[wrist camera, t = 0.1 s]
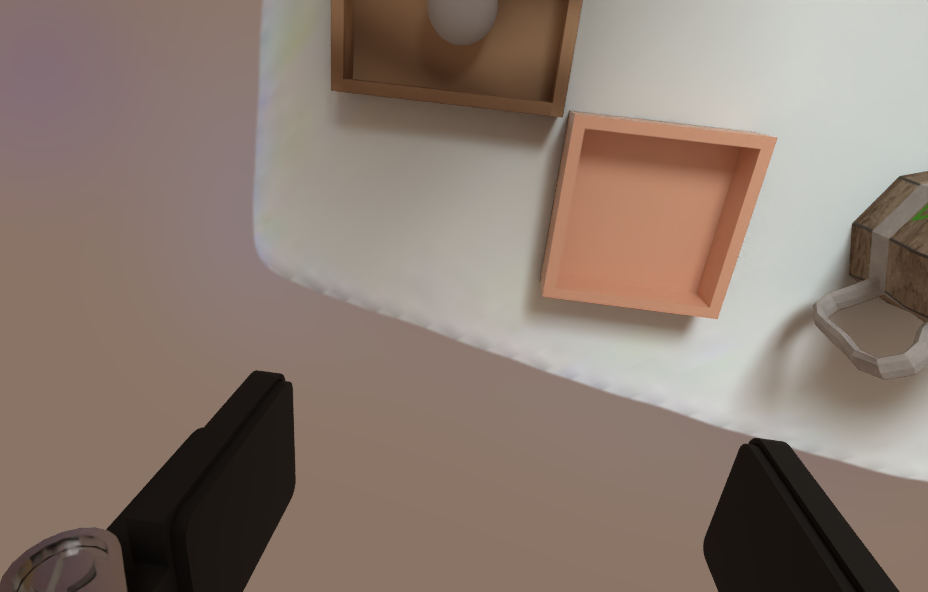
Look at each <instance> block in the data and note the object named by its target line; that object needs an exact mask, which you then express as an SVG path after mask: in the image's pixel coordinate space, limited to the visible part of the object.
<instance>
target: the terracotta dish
mask: <svg viewBox="0 0 928 592" xmlns="http://www.w3.org/2000/svg"><path fill="white" fill-rule="evenodd" d="M776 141H777V138H776V137H772V136H768V135H764V134H760V133H755V132H748V131H739V130H731V129H722V128H713V127H705V126H696V125H687V124H679V123H670V122H661V121H653V120H644V119H635V118H627V117H618V116H609V115H601V114H592V113H583V112H575V111H569V117H568V122H567V128H566V134H565V140H564V145H563V151H562V157H561V162H560V168H559V174H558V180H557V185H556V191H555V197H554V203H553V208H552V214H551V220H550V226H549V231H548V237H547V243H546V248H545V254H544V260H543V266H542V271H541V277H540V283H541V290H542V297H549V298H557V299H565V300H573V301H580V302H588V303H596V304H604V305H612V306H619V307H627V308H635V309H643V310H651V311H658V312H666V313H674V314H682V315H690V316H697V317H705V318H713V319H718V316H719V313H720V310H721V307H722V304H723V301H724V298H725V295H726V292H727V289H728V286H729V283H730V280H731V277H732V274H733V271H734V268H735V265H736V261H737V258H738V255H739V252H740V249H741V246H742V243H743V240H744V237H745V234H746V231H747V228H748V225H749V222H750V219H751V216H752V213H753V210H754V207H755V204H756V201H757V198H758V195H759V192H760V189H761V186H762V183H763V180H764V177H765V174H766V171H767V168H768V165H769V162H770V159H771V156H772V153H773V150H774V147H775V144H776Z"/></svg>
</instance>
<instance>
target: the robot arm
mask: <svg viewBox="0 0 928 592" xmlns="http://www.w3.org/2000/svg"><path fill="white" fill-rule="evenodd" d="M294 488H295V447H294V416H293V387H292V383H291V382H287V381H285V378H284V375H282V374H280V373H272V372H265V371H254V372H252V373H251V374H250V375H249V376H248V378H247V379H246V380H245V381H244V382H243V384H242V385H241V386H240V387H239V388H238V389H237V390H236V391H235V392H234V394H233V395H232V396H231V397H230V398H229V399H228V400H227V402H226V403H225V404H224V405H223V406H222V408H221V409H220V410H219V411H218V412H217V413H216V414H215V415H214V417H213V418H212V419H211V420H210V421H209V422H208V423H207V425H206V426H205V427H204V428H200V429H197V430H196V431H195V432H193V433H192V434H191V435H190V436H189V438H188V439H187V440H186V441H185V442H184V443H183V444H182V445H181V446H180V448H179V449H178V450H177V451H176V452H175V453H174V454H173V456H172V457H171V458H170V459H169V460H168V461H167V462H166V463H165V465H164V466H163V467H162V468H161V469H160V470H159V471H158V472H157V473H156V474H155V476H154V477H153V478H152V479H151V480H150V481H149V482H148V483H147V484H146V486H145V487H144V488H143V489H142V490H141V491H140V492H139V494H138V495H137V496H136V497H135V498H134V499H133V500H132V501H131V503H130V504H129V505H128V506H127V507H126V508H125V509H124V510H123V512H121V514H120V515H119V516H118V517H117V518H116V519H115V520H114V521H113V523H112V524H111V525H110V526H109V527H108V528H107V529H106V530H104V529H100V528H96V527H92V528H77V529H73V530H68V531H64V532H61V533H58V534H56V535H54V536H51V537H49V538H47V539H44V540H42V541H41V542H39V543H38V544H36V545H34V546H33V547H31V548H29V549H28V550H26V551H25V552H24V553H23V554H22V555H21V556H19V557H18V558H17V559H16V560H15V561H14V562H13V563H12V564H11V565H10V567H9V568H8V569H7V571H6V572H5V574H4V575H3V576H2V579H1V582H0V592H243V590H244V588H245V587H246V585H247V583H248V581H249V579H250V577H251V575H252V573H253V571H254V569H255V567H256V565H257V564H258V562H259V559H260V558H261V556H262V554H263V552H264V550H265V548H266V546H267V544H268V542H269V540H270V538H271V537H272V535H273V533H274V531H275V529H276V527H277V525H278V523H279V521H280V519H281V517H282V516H283V514H284V512H285V510H286V508H287V506H288V504H289V502H290V500H291V498H292V495H293V492H294ZM703 549H704V550H703V551H704V556H705V559H706V562H707V564H708V567H709V569H710V572H711V574H712V577H713V579H714V582H715V584H716V587H717V589H718V592H899V590H898V589H897V588H896V586H895V585H894V584H893V583H892V581H891V580H890V578H889V577H888V576H887V574H886V573H885V572H884V570H883V569H882V568H881V567H880V565H879V564H878V562H877V561H876V560H875V559H874V557H873V556H872V554H871V553H870V552H869V551H868V549H867V548H866V547H865V546H864V544H863V543H862V541H861V540H860V539H859V537H858V536H857V535H856V533H855V532H854V531H853V529H852V528H851V527H850V525H849V524H848V523H847V521H846V520H845V519H844V517H843V516H842V515H841V513H840V512H839V511H838V510H837V508H836V507H835V505H834V504H833V503H832V501H831V500H830V499H829V497H828V496H827V495H826V494H825V492H824V491H823V490H822V488H821V487H820V486H819V484H818V483H817V482H816V480H815V479H814V478H813V476H812V475H811V474H810V472H809V471H808V470H807V468H806V467H805V466H804V465H803V463H802V462H801V460H800V459H799V458H798V457H797V455H796V454H795V453H794V451H793V450H792V448H791V447H790V446H789V445H788V444H787V443H785V442H783V441H775V440H768V439H760V438H753V439H752V440H751V441H750V442H749V444H743V445H742V446H741V447H740V449H739V451H738V454H737V457H736V459H735V461H734V464H733V466H732V469H731V472H730V474H729V477H728V479H727V482H726V485H725V487H724V490H723V492H722V495H721V497H720V500H719V502H718V505H717V507H716V510H715V513H714V515H713V518H712V520H711V523H710V526H709V528H708V531H707V533H706V536H705V539H704V545H703Z"/></svg>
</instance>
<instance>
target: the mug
mask: <svg viewBox="0 0 928 592" xmlns="http://www.w3.org/2000/svg"><path fill="white" fill-rule="evenodd" d="M849 275H850V276H851V277H853V278H854V279H856V280H857V281H858V283H856V284H853V285H851V286H848V287H845V288H842V289H839V290H836V291H833V292H830V293H827V294H826V295H825V296H824V297H823V298H821V299H820V300H819V301H818V302H817V303H815V304H814V305H813V308H814V319H815V325H816V326H817V327H818V328H819V329H820V330H821V331H822V332H823V333H824V334H825V335H826V336H827V337H828V339H829V340H830V341H832V342H833V343H834V344H835V345H836V346H837V347H838V348H840V349H841V350H842V351H843V352H844V353H845V355H846V356H847V357H848V358H849V359H850V360H851V361H852V363H853V364H854V365H855V366H856V367H857V368H858V369H859V370H861V371H864V372H866V373H869V374H871V375H874V376H877V377H879V378H882V379H884V380H885V379H892V378H898V377H904V376H910V375H915V374H917V373H918V372H919V371H920V370H922V369H923V368H924V367H925V366H927V365H928V171H926V172H920V173H915V174H909V175H904V176H899V177H898V178H897V179H896V180H895V181H894V182H893V183H892V184H891V185H890V186H889V187H888V188H887V189H886V190H885V191H884V192H883V193H882V194H881V195H880V196H879V197H878V198H877V199H876V200H875V201H874V202H873V203H872V204H871V205H870V206H869V207H868V208H867V209H866V210H865V211H864V212H863V213H862V214H861V215H860V216H859V217H858V218H857V219H856V220H855V221H854V222H853V223H852V237H851V254H850V271H849ZM878 296H879V297H880V298H882V299H883V300H885V301H886V302H887V303H889V304H892V305H894V306H897V307H899V308H902V309H904V310H907V311H908V312H910V313H912V314H913V315H915V316H917V317H918V318H919V319H921V320H922V321H923V322H925V323H924V324H923V325H922V326H921V327H920V329H919V330H918V331H917V334H916V338H915V341H914V344H913V345H912V346H911V347H910V348H909V349H908V350H906V351H905V352H904V353H903V354H900V355H895V356H889V357H884V358H879V359H878V358H876V357H874V356H872V355H870V354H868V353H866V352H863V351H861V350H860V349H859V348H858V346H857V345H856V344H855V343H854V341H853V340H852V339H851V338H850V337H849V336H848V335H847V333H845V332H844V331H843V330H842V329H840V328H839V327H838V326H837V325H835V324H834V323H833V322H832V321H831V320H829V319H828V317H830V316H831V315H832V314H833V313H834V312H836V311H837V310H840V309H844V308H847V307H850V306H854V305H857V304H860V303H862V302H865V301H868V300H870V299H873V298H876V297H878Z"/></svg>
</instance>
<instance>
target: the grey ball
mask: <svg viewBox="0 0 928 592" xmlns="http://www.w3.org/2000/svg"><path fill="white" fill-rule="evenodd" d="M427 8H428V15H429V19H430V22H431V24H432V26H433V28H434V29H435V31H436V32H437V33H438V34H439V35H440V36H441V37H442V38H443V39H444V40H446V41H447V42H449V43H452V44H455V45H470V44H473V43H476V42H478V41H479V40H481V39H482V38H484V37H485V36H486V35H487V34H488V32H489V31H490V30H491V28H492V26H493V24H494V22H495V19H496V16H497V11H498V0H428V3H427Z"/></svg>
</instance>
